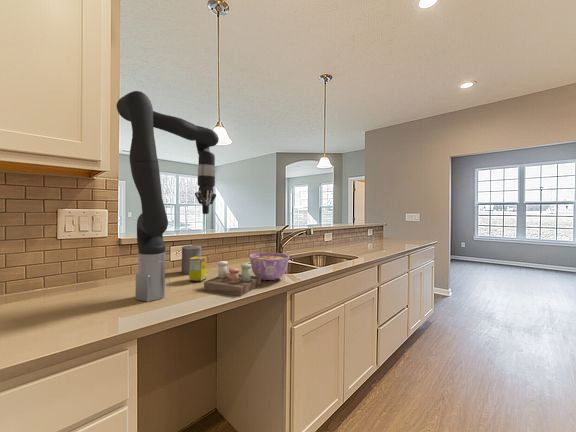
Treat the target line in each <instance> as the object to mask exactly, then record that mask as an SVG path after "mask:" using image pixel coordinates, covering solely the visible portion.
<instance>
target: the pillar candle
mask: <svg viewBox="0 0 576 432" xmlns="http://www.w3.org/2000/svg"><path fill="white" fill-rule="evenodd" d="M193 257H202V246H201V245H193V244H191V245H184V246H182V247H181V274H183V275H189V261H190V258H193Z"/></svg>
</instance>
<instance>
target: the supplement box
mask: <svg viewBox="0 0 576 432" xmlns="http://www.w3.org/2000/svg"><path fill="white" fill-rule="evenodd" d="M188 278H189V279H188V280H189V282H190V283H191V282H194V283H195V282H196V283H202V282H205V281H206V279H207V256H201V257H193V258H190V261H189V277H188Z"/></svg>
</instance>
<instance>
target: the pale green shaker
mask: <svg viewBox="0 0 576 432" xmlns="http://www.w3.org/2000/svg"><path fill="white" fill-rule="evenodd" d="M240 268H241V274H242V280H241V281H242V282H249V281H250V276H251V274H252V273H251V272H252V271H251V270H252V266H251V263H241V264H240Z"/></svg>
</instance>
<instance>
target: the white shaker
mask: <svg viewBox="0 0 576 432" xmlns="http://www.w3.org/2000/svg"><path fill="white" fill-rule="evenodd" d="M228 263H229V262H228V261H227V260H226V261H225V260H220V261H217V265H218V266H217V267H218V269H217V277H218V278H220V279H224V278H227V273H228Z"/></svg>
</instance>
